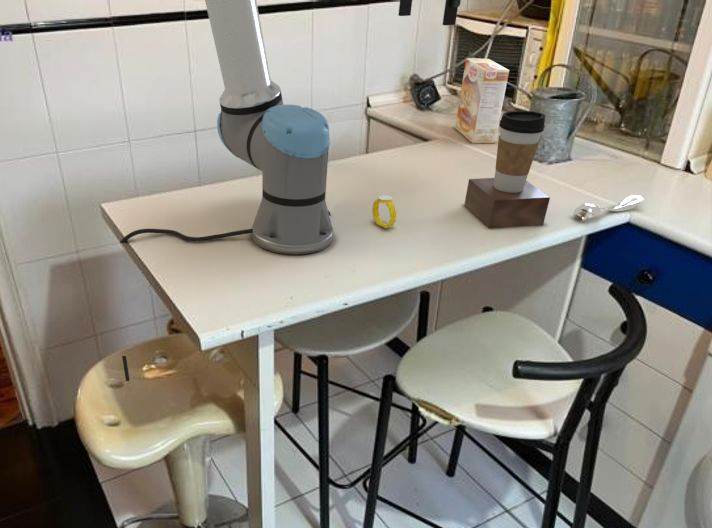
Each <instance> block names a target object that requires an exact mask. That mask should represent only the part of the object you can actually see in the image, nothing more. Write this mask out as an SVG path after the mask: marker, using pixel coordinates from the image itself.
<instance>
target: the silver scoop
mask: <svg viewBox="0 0 712 528" xmlns="http://www.w3.org/2000/svg"><path fill="white" fill-rule="evenodd" d="M632 199H636V200H634V201H632ZM643 202H644V198H643V197H642V196H641V195H635V194H634V195H633V194H632V195H630V196H628V197H626V198H624V199H623V200H622V201H620V202H619V203H618V204H616V205H615V206H613V207H611V208H610V207H603V206H600V205H598V204H594V203H582V204H579V205H578V206H576V207H575V209H574V210H573V219H575V220H576V221H578V222H583V221H587V220H589V219H591V218H593V217H595V216H597V215H599V214H600V213H601V212H602V211H603V210H605V211H610V212H624V211H628V210H631V209H633V208H636V207H638V206H640V205H641V204H642V203H643Z"/></svg>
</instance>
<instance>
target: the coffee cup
mask: <svg viewBox="0 0 712 528" xmlns="http://www.w3.org/2000/svg"><path fill="white" fill-rule="evenodd" d="M501 115H502V116H501V117H500V121H499V126H498V127H500V131H499V135H498V139H497V148H496V149H497V150H496V160H495V171H494V177H493V178H494V187H495V188H496V189H497V190H500V191H503V192H508V193H518V192H521V191H523V189H524V186H525V182H526V181H527V180H528V176H529V173H530V170H531V168H532V164H533V162H534V158H535V156H536V153H537V149H538V146H539V144H540V138H541V133H543V132H544V130H545V122H546V114H544V113H542V112H540V111H531V110H510V111H504V112H503V113H502V114H501Z"/></svg>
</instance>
